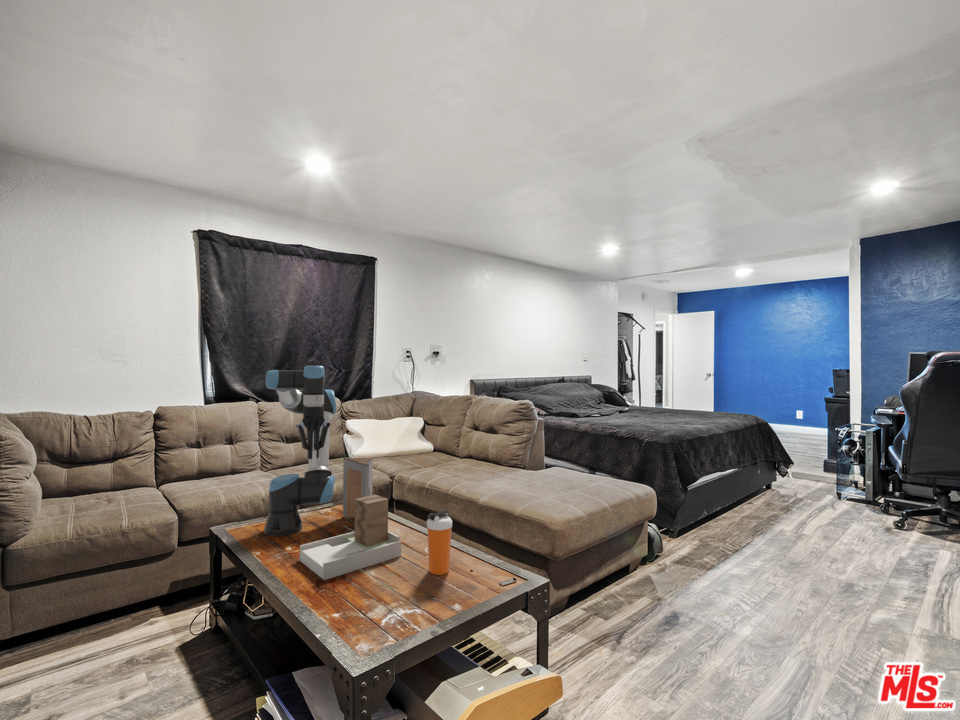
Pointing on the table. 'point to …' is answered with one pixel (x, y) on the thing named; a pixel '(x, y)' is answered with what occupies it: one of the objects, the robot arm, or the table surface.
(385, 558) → the box
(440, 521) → the shaker bottle
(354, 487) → the cabinet
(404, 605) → the table surface
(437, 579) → the table surface
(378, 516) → the walnut block
